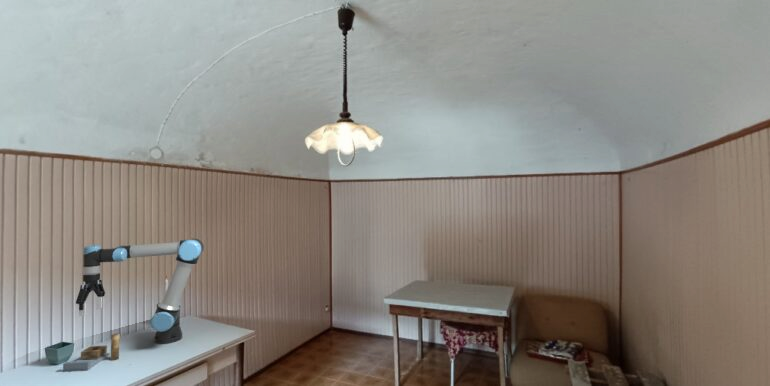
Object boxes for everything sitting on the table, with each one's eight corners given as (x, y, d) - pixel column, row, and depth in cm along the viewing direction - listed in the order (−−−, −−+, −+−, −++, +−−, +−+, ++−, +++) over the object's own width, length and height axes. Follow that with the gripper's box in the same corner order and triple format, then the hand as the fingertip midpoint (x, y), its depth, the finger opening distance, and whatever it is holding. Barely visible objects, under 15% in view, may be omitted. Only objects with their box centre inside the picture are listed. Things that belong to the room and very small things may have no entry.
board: (110, 354, 199) (110, 347, 199) (87, 370, 181) (87, 362, 181) (87, 356, 198) (88, 348, 198) (62, 371, 179) (63, 363, 179)
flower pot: (56, 367, 184) (57, 349, 184) (43, 365, 186) (43, 347, 186) (74, 359, 193) (75, 342, 193) (61, 358, 194) (62, 341, 195)
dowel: (120, 357, 196) (121, 333, 197) (116, 360, 193) (117, 335, 193) (112, 357, 196) (113, 333, 196) (109, 360, 192) (110, 336, 193)
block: (106, 352, 199) (106, 345, 199) (97, 358, 191) (97, 351, 191) (90, 353, 197) (90, 346, 198) (80, 359, 190) (80, 352, 190)
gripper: (99, 269, 212) (98, 305, 211) (67, 278, 187) (66, 319, 187) (112, 269, 213) (112, 305, 212) (83, 277, 188) (82, 318, 188)
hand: (90, 312), depth 200 cm, fingers open, 13 cm apart
